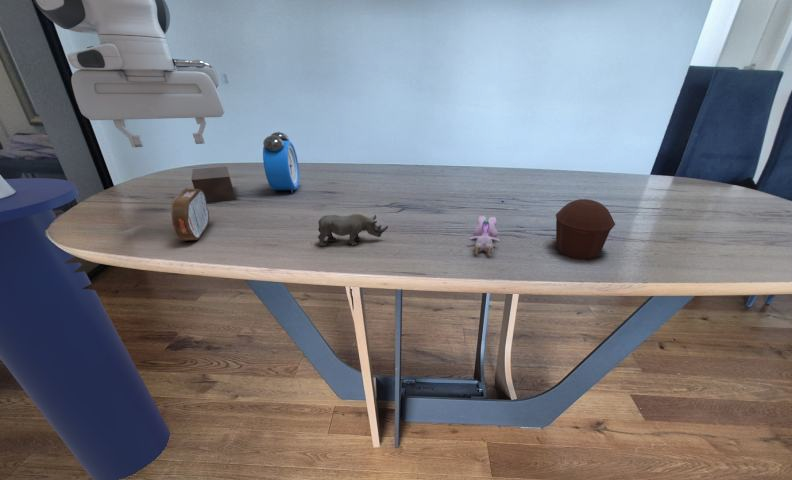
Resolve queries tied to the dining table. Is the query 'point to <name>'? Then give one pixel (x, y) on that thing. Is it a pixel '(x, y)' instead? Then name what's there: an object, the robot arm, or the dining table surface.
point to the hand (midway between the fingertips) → (170, 145)
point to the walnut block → (213, 183)
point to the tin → (190, 214)
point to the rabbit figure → (485, 234)
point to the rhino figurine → (347, 227)
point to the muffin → (582, 228)
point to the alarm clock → (280, 162)
